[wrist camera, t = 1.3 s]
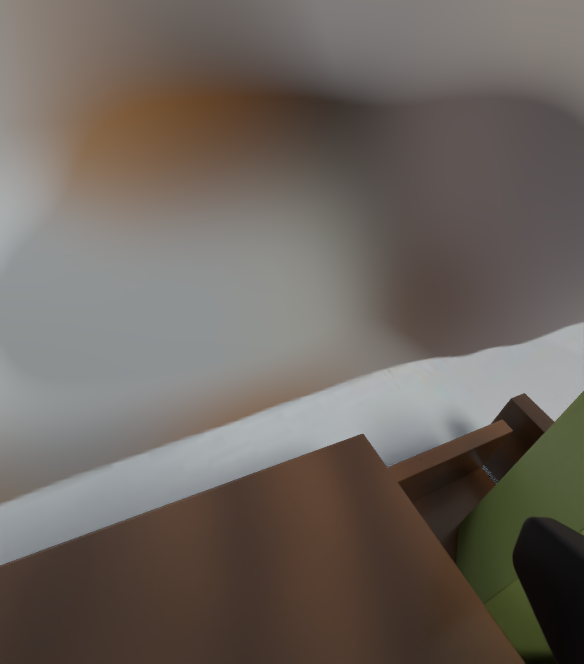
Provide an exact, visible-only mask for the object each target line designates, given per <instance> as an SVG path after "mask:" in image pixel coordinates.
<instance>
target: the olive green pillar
mask: <svg viewBox="0 0 584 664" xmlns="http://www.w3.org/2000/svg"><path fill="white" fill-rule="evenodd" d="M532 516H534V517H550V518H553V519H555V520H557V521H559V522H560V523H562V524H564V525H566V526H568V527H569V528H571V529H573V530H575V531H577V532H578V533H580V534H582V535H584V391H583V392H582V393H581V394H580V395H579V397H578V398H577V399H576V400H575V401H574V402H573V403H572V404H571V405H570V406H569V407H568V408H567V409H566V410H565V411H564V413H563V414H562V415H561V416H560V417H559V418H558V419H557V420H556V421H555V422H554V423H553V424H552V425H551V426H550V428H549V429H548V430H547V431H546V432H545V433H544V434H543V435H542V436H541V437H540V438H539V439H538V440H537V441H536V442H535V444H534V445H533V446H532V447H531V448H530V449H529V450H528V451H527V452H526V453H525V454H524V455H523V456H522V457H521V459H520V460H519V461H518V462H517V463H516V464H515V465H514V466H513V467H512V468H511V469H510V470H509V471H508V472H507V474H506V475H505V476H504V477H503V478H502V479H501V480H500V481H499V482H498V483H497V484H496V485H495V486H494V487H493V488H492V490H491V491H490V492H489V493H488V494H487V495H486V496H485V497H484V498H483V499H482V500H481V501H480V502H479V503H478V505H477V506H476V507H475V508H474V509H473V510H472V511H471V512H470V513H469V514H468V515H467V516H466V517H465V518H464V519H463V521H462V522H461V523H460V524H459V529H458V541H457V553H456V566H457V567H458V568H459V570H460V571H461V573H462V574H463V575H464V577H465V578H466V580H467V581H468V583H469V584H470V585H471V587H472V588H473V590H474V591H475V592H476V594H477V595H478V597H479V598H480V600H481V601H482V602H483V604H484V605H485V607H486V608H487V609H488V611H489V612H490V614H491V615H492V617H493V618H494V619H495V621H496V622H497V624H498V625H499V626H500V628H501V629H502V631H503V632H504V634H505V635H506V636H507V638H508V639H509V641H510V642H511V643H512V645H513V646H514V648H515V649H516V651H517V652H518V653H519V655H520V656H521V658H522V659H523V660H524V662H525V663H526V664H557V662H556V660H555V658H554V656H553V654H552V652H551V650H550V648H549V646H548V643H547V641H546V639H545V637H544V635H543V632H542V630H541V628H540V626H539V623H538V621H537V619H536V617H535V614H534V612H533V610H532V608H531V605H530V603H529V601H528V599H527V596H526V594H525V592H524V590H523V587H522V585H521V583H520V580H519V578H518V576H517V574H516V571H515V569H514V566H513V562H512V553H513V550H514V547H515V544H516V541H517V539H518V536H519V533H520V530H521V528H522V525H523V522H524V521H525V520H526V519H527V518H528V517H532Z"/></svg>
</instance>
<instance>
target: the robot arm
mask: <svg viewBox="0 0 584 664" xmlns="http://www.w3.org/2000/svg"><path fill="white" fill-rule="evenodd" d="M512 562H513V566H514V569H515V571H516V574H517V576H518V578H519V580H520V583H521V585H522V587H523V590H524V592H525V594H526V596H527V599H528V601H529V603H530V605H531V608H532V610H533V612H534V614H535V617H536V619H537V621H538V623H539V626H540V628H541V630H542V632H543V635H544V637H545V639H546V641H547V643H548V646H549V648H550V650H551V652H552V654H553V656H554V658H555V660H556V662H557V664H584V535H582V534H580V533H578V532H577V531H575V530H573V529H571V528H569V527H568V526H566V525H564V524H562V523H560V522H559V521H557V520H555V519H553V518H550V517H534V516H532V517H528V518H527V519H526V520H525V521H524V522H523V525H522V528H521V530H520V533H519V536H518V539H517V541H516V544H515V547H514V550H513V553H512Z"/></svg>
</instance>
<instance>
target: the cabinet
mask: <svg viewBox="0 0 584 664" xmlns="http://www.w3.org/2000/svg"><path fill="white" fill-rule="evenodd" d="M0 664H526V663H525V662H524V660H523V659H522V658H521V656H520V655H519V653H518V652H517V651H516V649H515V648H514V646H513V645H512V643H511V642H510V641H509V639H508V638H507V636H506V635H505V634H504V632H503V631H502V629H501V628H500V626H499V625H498V624H497V622H496V621H495V619H494V618H493V617H492V615H491V614H490V612H489V611H488V609H487V608H486V607H485V605H484V604H483V602H482V601H481V600H480V598H479V597H478V595H477V594H476V592H475V591H474V590H473V588H472V587H471V585H470V584H469V583H468V581H467V580H466V578H465V577H464V575H463V574H462V573H461V571H460V570H459V568H458V567H457V566H456V564H455V563H454V561H453V560H452V558H451V557H450V556H449V554H448V553H447V551H446V550H445V549H444V547H443V546H442V544H441V543H440V541H439V540H438V539H437V537H436V536H435V534H434V533H433V532H432V530H431V529H430V527H429V526H428V525H427V523H426V522H425V520H424V519H423V517H422V516H421V515H420V513H419V512H418V510H417V509H416V508H415V506H414V505H413V503H412V502H411V500H410V499H409V498H408V496H407V495H406V493H405V492H404V491H403V489H402V488H401V486H400V485H399V483H398V482H397V481H396V479H395V478H394V476H393V475H392V474H391V472H390V471H389V469H388V468H387V466H386V465H385V464H384V462H383V461H382V459H381V458H380V457H379V455H378V454H377V452H376V451H375V449H374V448H373V447H372V445H371V444H370V442H369V441H368V440H367V438H366V437H365V435H364V434H360V435H357V436H355V437H352V438H349V439H346V440H344V441H341V442H338V443H335V444H333V445H330V446H327V447H324V448H322V449H319V450H316V451H313V452H311V453H308V454H305V455H302V456H300V457H297V458H294V459H291V460H289V461H286V462H283V463H281V464H278V465H275V466H272V467H270V468H267V469H264V470H261V471H259V472H256V473H253V474H250V475H248V476H245V477H242V478H239V479H237V480H234V481H231V482H228V483H226V484H223V485H220V486H217V487H215V488H212V489H209V490H206V491H204V492H201V493H198V494H195V495H193V496H190V497H187V498H184V499H182V500H179V501H176V502H173V503H171V504H168V505H165V506H162V507H160V508H157V509H154V510H151V511H149V512H146V513H143V514H140V515H138V516H135V517H132V518H129V519H127V520H124V521H121V522H118V523H116V524H113V525H110V526H107V527H105V528H102V529H99V530H97V531H94V532H91V533H88V534H86V535H83V536H80V537H77V538H75V539H72V540H69V541H66V542H64V543H61V544H58V545H55V546H53V547H50V548H47V549H44V550H42V551H39V552H36V553H33V554H31V555H28V556H25V557H22V558H20V559H17V560H14V561H11V562H9V563H6V564H3V565H0Z"/></svg>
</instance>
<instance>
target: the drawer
mask: <svg viewBox="0 0 584 664" xmlns="http://www.w3.org/2000/svg"><path fill="white" fill-rule="evenodd" d="M553 423H554V421H553V420H552V419H551V418H550V417H549V416H548V415H547V414H546V413H545V412H544V411H543V410H541V409H540V408H539V407H538V406H537V405H536V404H535V403H534V402H533V401H532V400H531V399H530V398H529V397H528V396H527V395H526V394H525V393H524V394H521V395H519V396H516V397H514V398H511V399H510V400H509V402H508V403H507V404H506V405H505V407H504V408H503V409H502V411H501V412H500V413H499V414H498V416H497V417H496V418H495V419H494V421H493V422H492V423H491V424H490V425H488V426H485V427H483V428H481V429H478V430H476V431H474V432H471V433H469V434H466V435H464V436H462V437H459V438H457V439H454V440H452V441H450V442H447V443H445V444H443V445H440V446H438V447H435V448H433V449H431V450H428V451H426V452H424V453H421V454H419V455H416V456H414V457H412V458H409V459H407V460H405V461H402V462H400V463H397V464H395V465H393V466H390V467H388V469H389V471H390V472H391V474H392V475H393V476H394V478H395V479H396V481H397V482H398V483H399V485H400V486H401V488H402V489H403V491H404V492H405V493H406V495H407V496H408V498H409V499H410V500H411V502H412V503H413V505H414V506H415V508H416V509H417V510H418V512H419V513H420V515H421V516H422V517H423V519H424V520H425V522H426V523H427V525H428V526H429V527H430V529H431V530H432V532H433V533H434V534H435V536H436V537H437V539H438V540H439V541H440V543H441V544H442V546H443V547H444V549H445V550H446V551H447V553H448V554H449V556H450V557H451V558H452V560H453V561H454V563H455V564H456V553H457V541H458V529H459V524H460V523H461V522H462V521H463V519H464V518H465V517H466V516H467V515H468V514H469V513H470V512H471V511H472V510H473V509H474V508H475V507H476V506H477V505H478V503H479V502H480V501H481V500H482V499H483V498H484V497H485V496H486V495H487V494H488V493H489V492H490V491H491V490H492V488H493V487H494V486H495V485H496V484H495V483H494V482H493V481H492V479H491V478H490V477H489V476H488V475H487V474H486V472H485V471H484V470H483V469H482V467H483V466H484V465H485V466H486V467H487V469H488V470H489V471H490V472H491V473H492V474H493V476H494V477H495V478H496V479H497V480H498V481H500V480H501V479H502V478H503V477H504V476H505V475H506V474H507V472H508V471H509V470H510V469H511V468H512V467H513V466H514V465H515V464H516V463H517V462H518V461H519V460H520V459H521V457H522V456H523V455H524V454H525V453H526V452H527V451H528V450H529V449H530V448H531V447H532V446H533V445H534V444H535V442H536V441H537V440H538V439H539V438H540V437H541V436H542V435H543V434H544V433H545V432H546V431H547V430H548V429H549V428H550V426H551V425H552V424H553Z"/></svg>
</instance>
